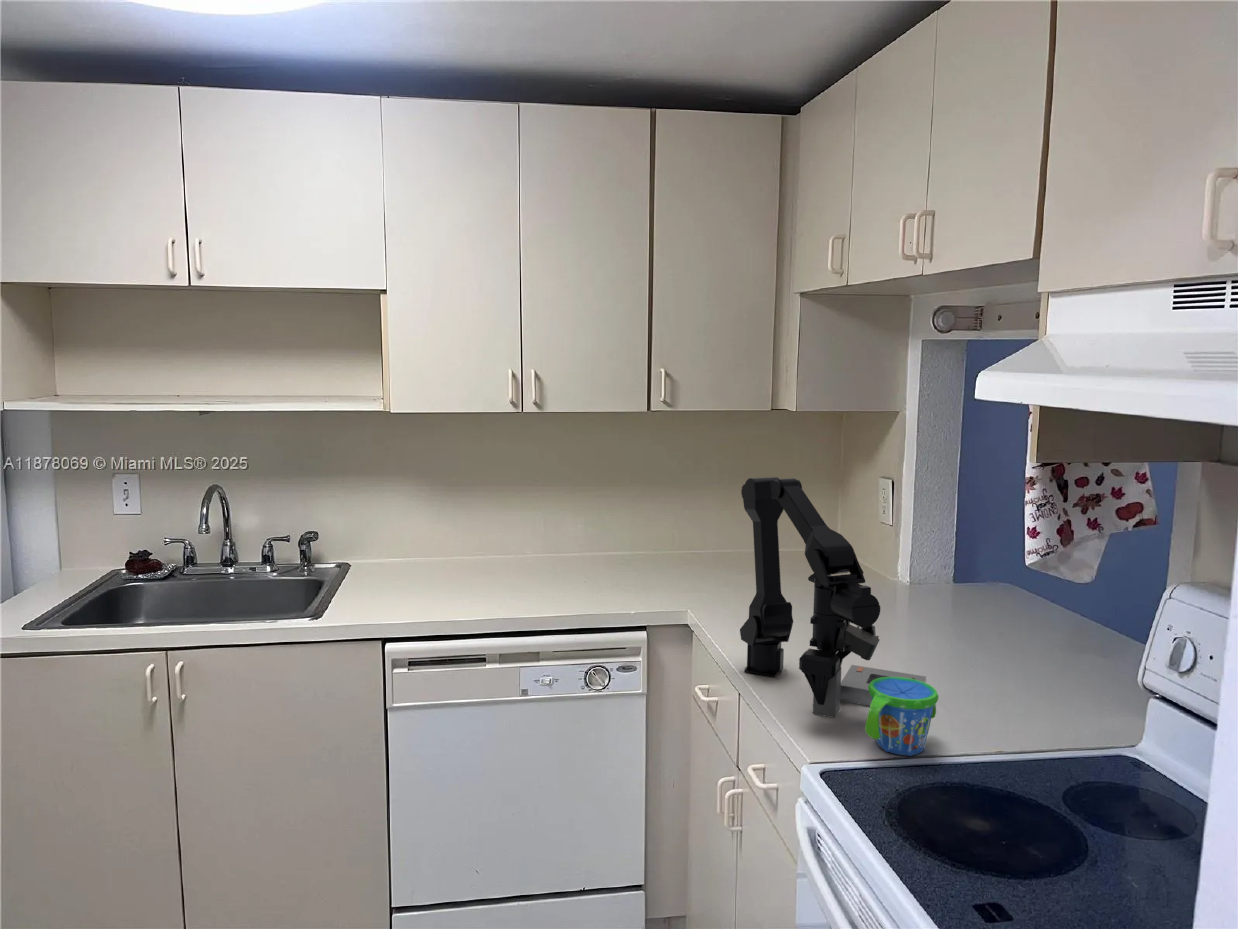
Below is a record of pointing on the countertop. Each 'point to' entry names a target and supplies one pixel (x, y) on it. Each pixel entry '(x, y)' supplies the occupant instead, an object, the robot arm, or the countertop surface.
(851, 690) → the socket plate
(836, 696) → the plug
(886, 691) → the snack cup
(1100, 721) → the countertop surface
